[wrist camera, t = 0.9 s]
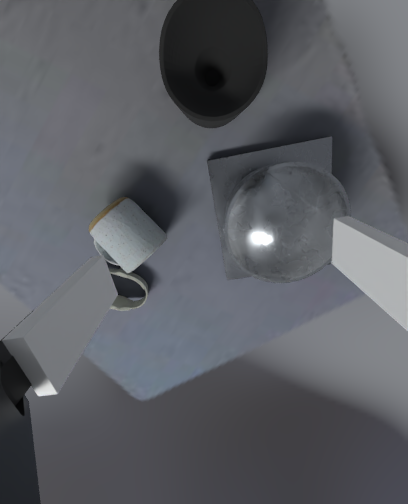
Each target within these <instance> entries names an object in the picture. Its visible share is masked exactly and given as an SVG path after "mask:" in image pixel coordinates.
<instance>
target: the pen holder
mask: <svg viewBox="0 0 408 504" xmlns="http://www.w3.org/2000/svg"><path fill="white" fill-rule="evenodd" d="M159 60H160V69H161V75H162V79H163V82H164V85H165V88H166V90H167V92H168V94H169V96H170V97H171V99H172V100H173V101H174V103H175V104H176V105H177V106H178V107H179V109H180V110H181V111H182V112H183V113H184V114H185V115H186V116H187V118H189V119H190V120H191V121H192V122H194V123H195V124H197V125H199V126H202V127H205V128H217V127H221V126H224V125H226V124H228V123H229V122H230V121H232V120H233V119H235V118H236V117H237V116H238V115H239V114H240V113H241V112H242V111H243V110H244V109H246V108H247V107H248V106H249V105H250V104H251V102H252V101H253V100H254V99H255V97H256V96H257V94H258V93H259V91H260V89H261V87H262V85H263V82H264V79H265V75H266V70H267V38H266V32H265V26H264V23H263V20H262V16H261V14H260V12H259V10H258V8H257V7H256V5H255V4H254V2H253V1H252V0H177V1H176V2H175V3H174V4H173V6H172V7H171V9H170V11H169V12H168V14H167V16H166V19H165V21H164V24H163V27H162V31H161V37H160V47H159Z"/></svg>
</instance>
